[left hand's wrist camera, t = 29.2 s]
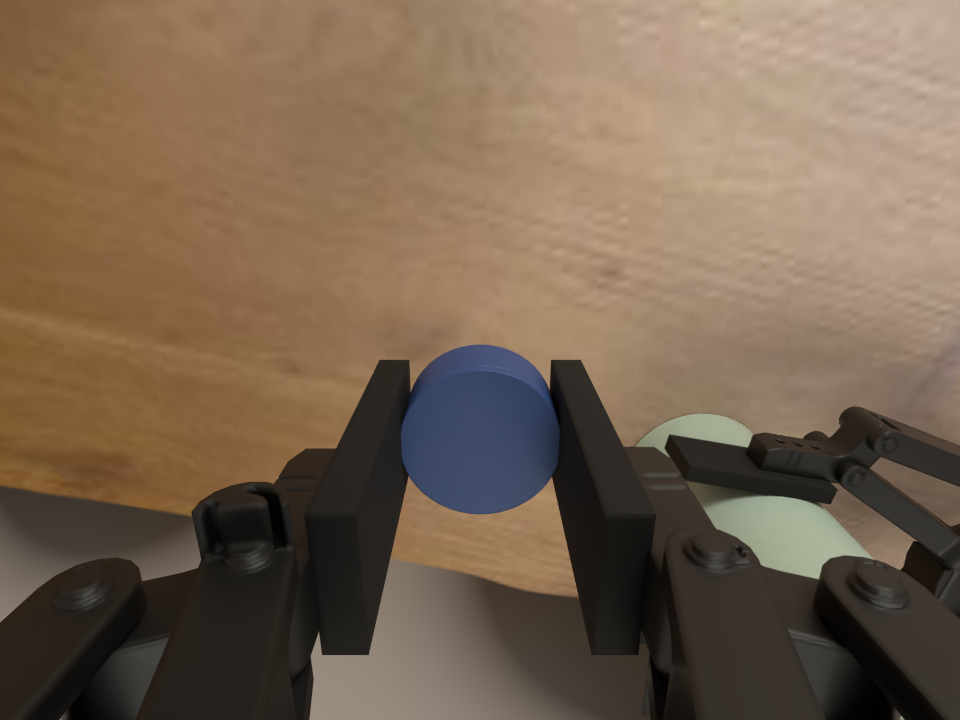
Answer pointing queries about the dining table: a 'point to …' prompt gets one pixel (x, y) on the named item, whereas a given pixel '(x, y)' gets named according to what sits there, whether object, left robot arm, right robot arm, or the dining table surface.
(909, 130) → the dining table surface
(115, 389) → the dining table surface
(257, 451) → the dining table surface
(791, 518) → the bottle
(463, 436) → the cap
